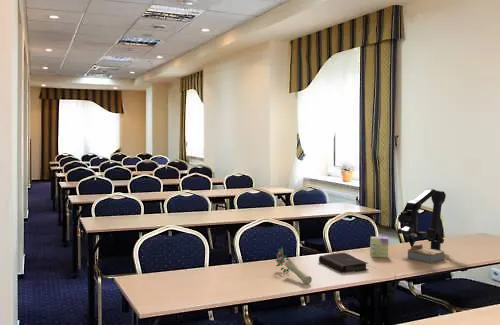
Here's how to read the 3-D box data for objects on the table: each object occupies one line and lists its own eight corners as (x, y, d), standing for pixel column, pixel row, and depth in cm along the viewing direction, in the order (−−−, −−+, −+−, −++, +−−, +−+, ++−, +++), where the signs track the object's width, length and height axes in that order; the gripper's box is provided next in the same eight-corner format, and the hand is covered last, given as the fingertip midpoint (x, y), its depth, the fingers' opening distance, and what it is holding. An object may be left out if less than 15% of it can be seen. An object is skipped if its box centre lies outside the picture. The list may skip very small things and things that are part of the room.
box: (386, 255, 325) (387, 236, 324) (388, 257, 319) (388, 238, 319) (369, 254, 326) (370, 236, 325) (371, 257, 320) (371, 238, 320)
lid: (421, 247, 326) (421, 243, 326) (444, 252, 313) (444, 248, 313) (407, 250, 318) (407, 246, 317) (430, 255, 305) (431, 251, 305)
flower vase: (299, 299, 262) (268, 267, 293) (320, 289, 267) (287, 259, 297) (296, 280, 258) (265, 250, 288) (317, 270, 262) (284, 242, 292)
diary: (341, 274, 283) (341, 265, 283) (318, 263, 307) (318, 255, 306) (369, 270, 290) (369, 262, 290) (345, 260, 314) (345, 252, 313)
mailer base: (421, 254, 326) (421, 248, 326) (443, 260, 314) (444, 252, 313) (407, 258, 318) (407, 251, 318) (430, 263, 305) (430, 256, 305)
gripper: (392, 221, 325) (391, 245, 326) (417, 225, 310) (417, 251, 311) (402, 219, 332) (402, 243, 333) (428, 223, 317) (427, 248, 318)
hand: (411, 246), depth 323 cm, fingers closed
